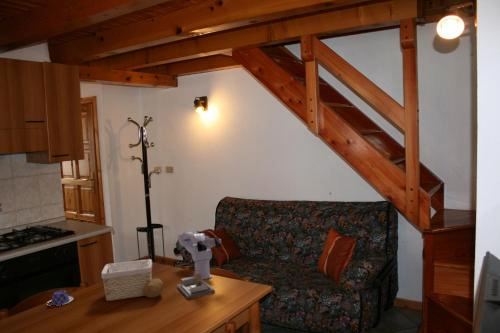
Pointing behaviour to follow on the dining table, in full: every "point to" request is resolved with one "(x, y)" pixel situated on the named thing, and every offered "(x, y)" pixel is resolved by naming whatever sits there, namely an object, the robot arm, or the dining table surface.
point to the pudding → (60, 298)
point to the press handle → (198, 285)
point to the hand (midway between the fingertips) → (213, 246)
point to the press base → (190, 281)
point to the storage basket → (126, 279)
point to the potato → (153, 288)
